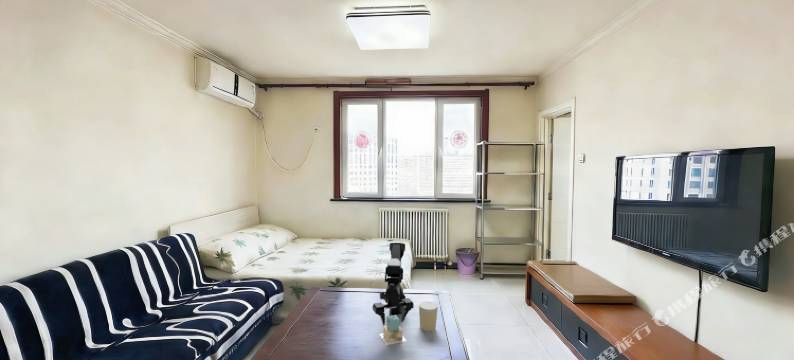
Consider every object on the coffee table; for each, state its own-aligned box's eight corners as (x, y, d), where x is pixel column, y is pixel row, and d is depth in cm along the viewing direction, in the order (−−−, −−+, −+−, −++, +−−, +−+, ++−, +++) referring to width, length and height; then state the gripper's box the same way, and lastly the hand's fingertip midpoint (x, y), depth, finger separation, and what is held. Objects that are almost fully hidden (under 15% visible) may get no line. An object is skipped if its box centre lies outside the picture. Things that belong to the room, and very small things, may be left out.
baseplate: (398, 332, 156) (398, 330, 156) (406, 343, 147) (406, 341, 147) (379, 335, 152) (379, 333, 152) (386, 347, 143) (386, 345, 143)
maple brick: (396, 332, 154) (397, 323, 154) (402, 339, 148) (402, 330, 147) (383, 335, 152) (383, 325, 151) (388, 342, 145) (388, 333, 145)
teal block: (395, 324, 152) (395, 314, 152) (399, 329, 148) (399, 319, 148) (386, 326, 151) (386, 316, 150) (390, 331, 146) (390, 320, 146)
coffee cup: (438, 326, 163) (439, 303, 162) (434, 335, 154) (435, 311, 153) (421, 322, 166) (421, 300, 165) (416, 331, 157) (416, 307, 156)
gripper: (405, 282, 159) (404, 312, 160) (369, 287, 152) (368, 318, 153) (414, 290, 149) (413, 323, 150) (376, 296, 142) (376, 330, 143)
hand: (392, 323), depth 149 cm, fingers open, 9 cm apart
